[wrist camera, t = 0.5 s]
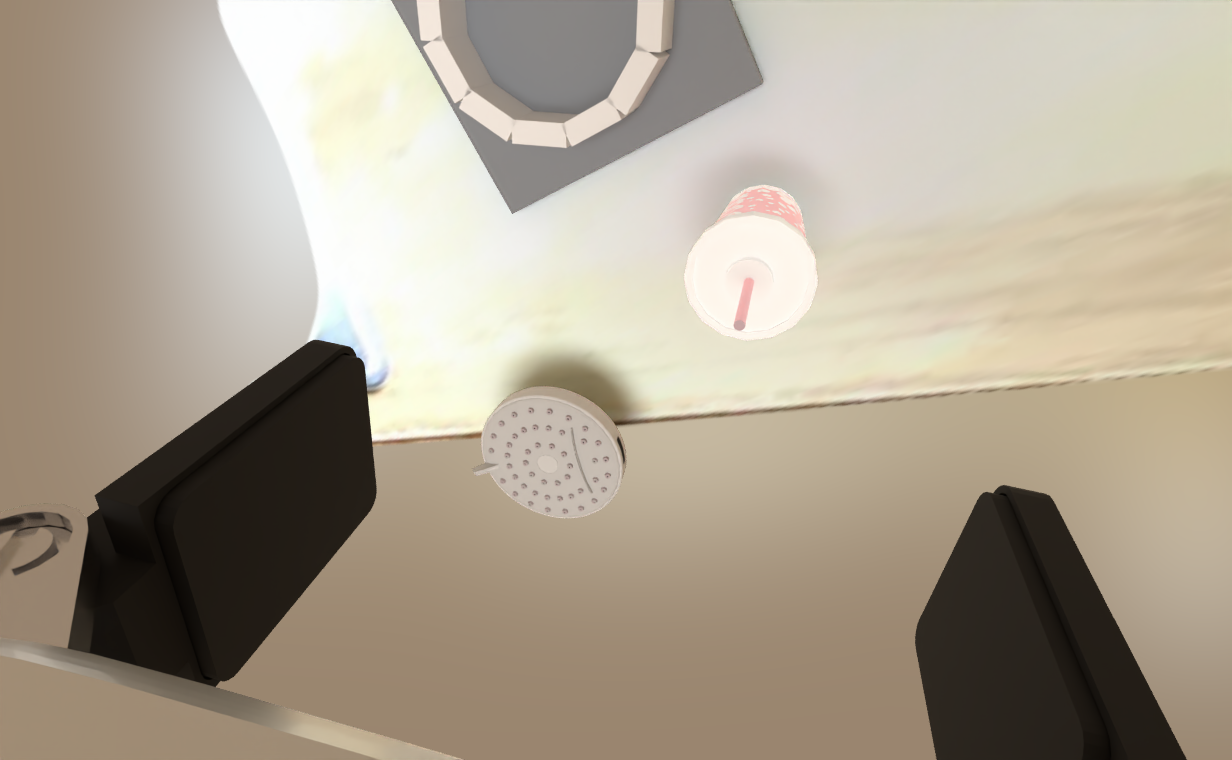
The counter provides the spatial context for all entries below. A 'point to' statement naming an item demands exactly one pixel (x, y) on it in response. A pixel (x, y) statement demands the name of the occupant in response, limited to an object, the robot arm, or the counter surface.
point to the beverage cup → (753, 267)
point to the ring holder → (576, 78)
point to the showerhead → (553, 452)
